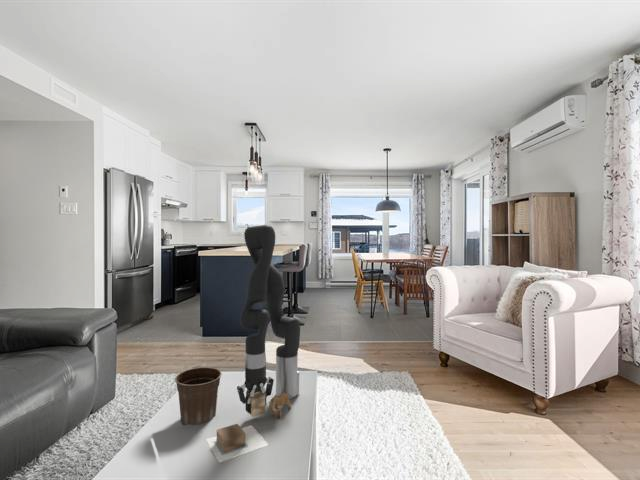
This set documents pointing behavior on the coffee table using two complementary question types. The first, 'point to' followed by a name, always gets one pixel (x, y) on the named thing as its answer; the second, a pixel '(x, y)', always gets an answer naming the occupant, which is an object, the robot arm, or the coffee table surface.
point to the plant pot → (198, 394)
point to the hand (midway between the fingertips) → (256, 410)
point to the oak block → (257, 404)
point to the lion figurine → (279, 404)
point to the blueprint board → (251, 443)
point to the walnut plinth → (230, 438)
